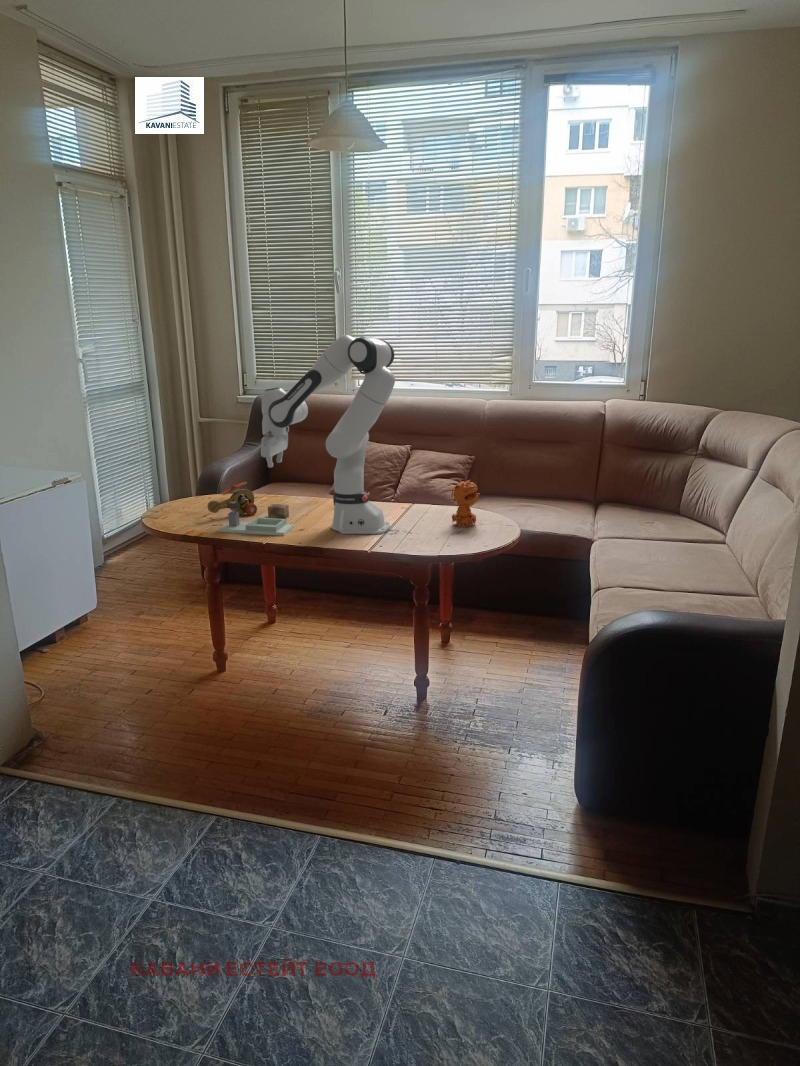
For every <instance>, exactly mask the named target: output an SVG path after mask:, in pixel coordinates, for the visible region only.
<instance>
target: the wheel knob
mask: <svg viewBox="0 0 800 1066" xmlns="http://www.w3.org/2000/svg"><path fill="white" fill-rule="evenodd" d="M235 508H239V502H228V503H227V508H226V509H229V510H231V509H232V510H231V512H232V513H235Z"/></svg>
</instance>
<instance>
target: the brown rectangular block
mask: <svg viewBox="0 0 800 1066" xmlns="http://www.w3.org/2000/svg"><path fill="white" fill-rule="evenodd" d="M267 516H268V517H267V518H275V519H286V520H287V519H288V518H289V517H290V510H289V504H281V503H280V504H279V503H272V504H270V505H269V506H267Z"/></svg>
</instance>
